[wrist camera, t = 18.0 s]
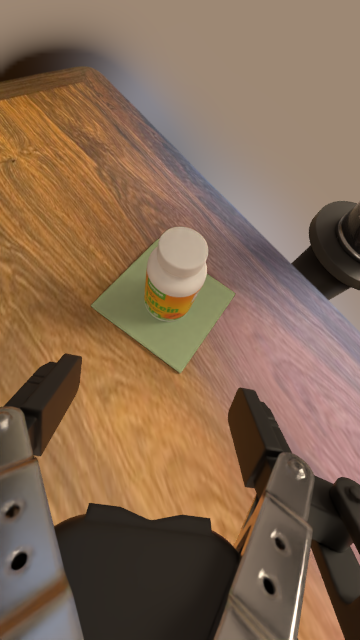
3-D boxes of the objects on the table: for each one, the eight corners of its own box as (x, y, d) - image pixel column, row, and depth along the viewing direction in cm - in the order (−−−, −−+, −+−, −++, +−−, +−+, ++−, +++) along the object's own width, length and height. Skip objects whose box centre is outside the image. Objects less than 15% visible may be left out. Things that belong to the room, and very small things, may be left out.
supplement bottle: (135, 310, 26) (136, 257, 17) (155, 273, 28) (165, 209, 19) (180, 330, 26) (204, 288, 17) (197, 291, 28) (226, 236, 19)
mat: (157, 240, 30) (157, 238, 30) (234, 295, 30) (235, 293, 29) (91, 306, 26) (90, 305, 25) (180, 373, 25) (180, 373, 25)
